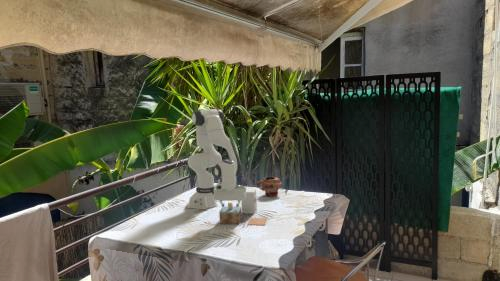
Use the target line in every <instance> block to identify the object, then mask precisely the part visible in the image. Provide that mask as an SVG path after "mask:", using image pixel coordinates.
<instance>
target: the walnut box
mask: <svg viewBox="0 0 500 281" xmlns="http://www.w3.org/2000/svg"><path fill="white" fill-rule="evenodd" d="M218 214H219V224H220V225H240V223H241V220H242V219H243V217H242V215H243V213H242V209H241V210H240V212H239V213H238V214H236V213H218Z"/></svg>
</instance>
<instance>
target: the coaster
mask: <svg viewBox="0 0 500 281" xmlns="http://www.w3.org/2000/svg"><path fill="white" fill-rule="evenodd" d="M267 220H268V218H267V217H263V218H262V217H261V218H260V217H258V218H257V217H249V220H248V222H247V226H266V225H267Z"/></svg>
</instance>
